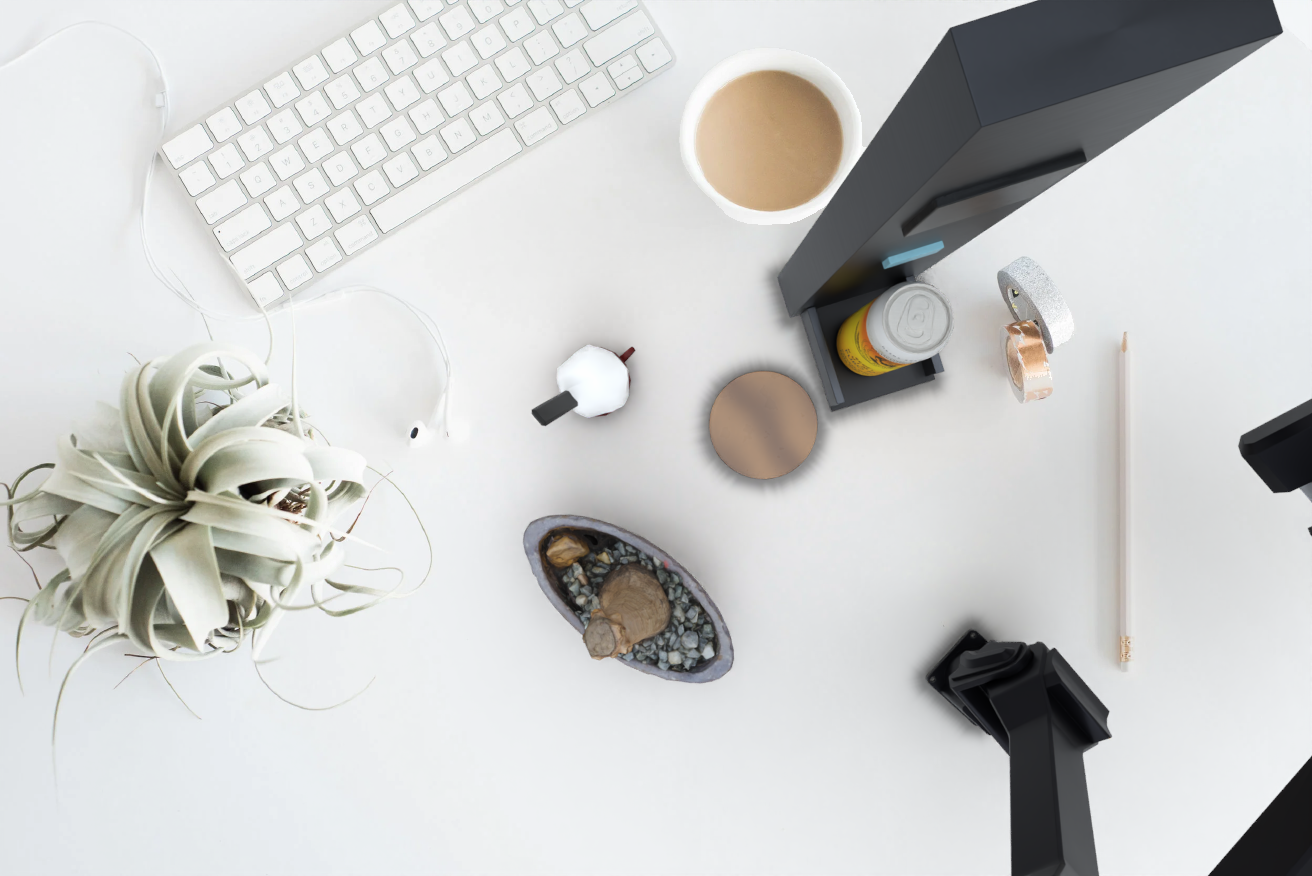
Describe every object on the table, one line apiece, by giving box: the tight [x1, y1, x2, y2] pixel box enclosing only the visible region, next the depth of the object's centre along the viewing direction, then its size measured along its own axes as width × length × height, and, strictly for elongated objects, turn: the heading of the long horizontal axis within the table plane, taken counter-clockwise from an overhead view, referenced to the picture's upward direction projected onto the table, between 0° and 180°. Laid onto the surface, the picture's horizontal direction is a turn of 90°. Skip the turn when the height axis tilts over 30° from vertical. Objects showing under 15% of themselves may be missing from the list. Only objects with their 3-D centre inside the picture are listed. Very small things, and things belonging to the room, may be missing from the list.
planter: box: [522, 514, 735, 684], centre depth 67 cm, size 15×17×20 cm
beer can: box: [837, 280, 955, 376], centre depth 69 cm, size 6×6×15 cm
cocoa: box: [531, 344, 637, 427], centre depth 71 cm, size 10×6×12 cm, turn 109°
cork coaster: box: [708, 370, 818, 480], centre depth 77 cm, size 10×10×1 cm
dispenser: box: [776, 0, 1284, 413], centre depth 54 cm, size 14×12×46 cm
